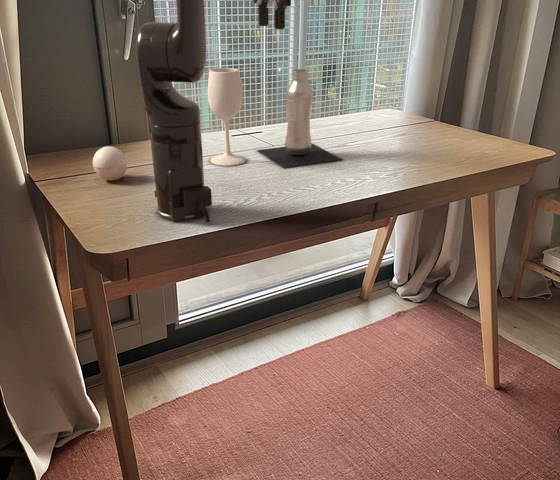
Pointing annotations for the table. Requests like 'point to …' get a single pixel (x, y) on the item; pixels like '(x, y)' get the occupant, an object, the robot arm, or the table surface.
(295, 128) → the plastic bottle
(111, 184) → the table surface
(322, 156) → the felt mat
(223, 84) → the wineglass
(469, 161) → the table surface
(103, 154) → the white sphere
